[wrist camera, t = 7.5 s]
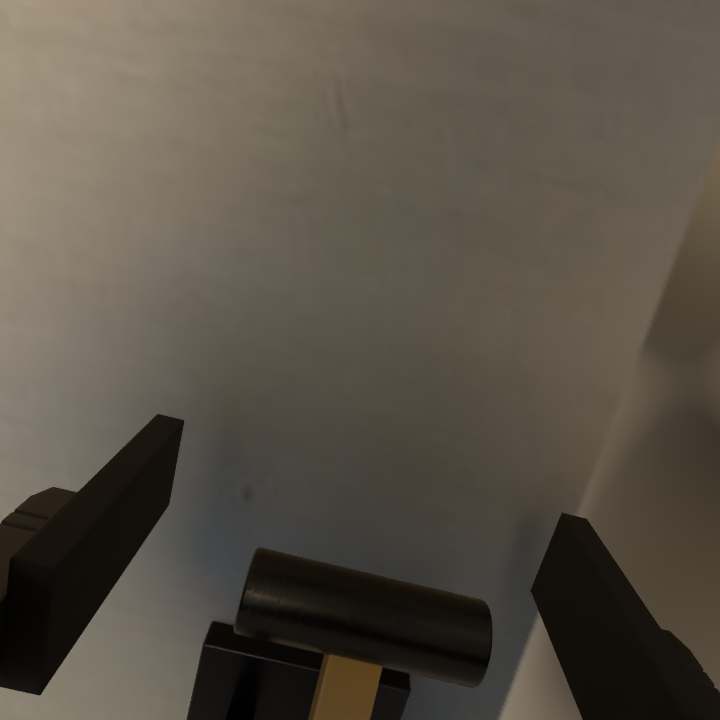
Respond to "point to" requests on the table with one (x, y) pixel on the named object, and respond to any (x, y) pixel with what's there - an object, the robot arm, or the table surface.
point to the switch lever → (362, 628)
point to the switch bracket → (271, 681)
